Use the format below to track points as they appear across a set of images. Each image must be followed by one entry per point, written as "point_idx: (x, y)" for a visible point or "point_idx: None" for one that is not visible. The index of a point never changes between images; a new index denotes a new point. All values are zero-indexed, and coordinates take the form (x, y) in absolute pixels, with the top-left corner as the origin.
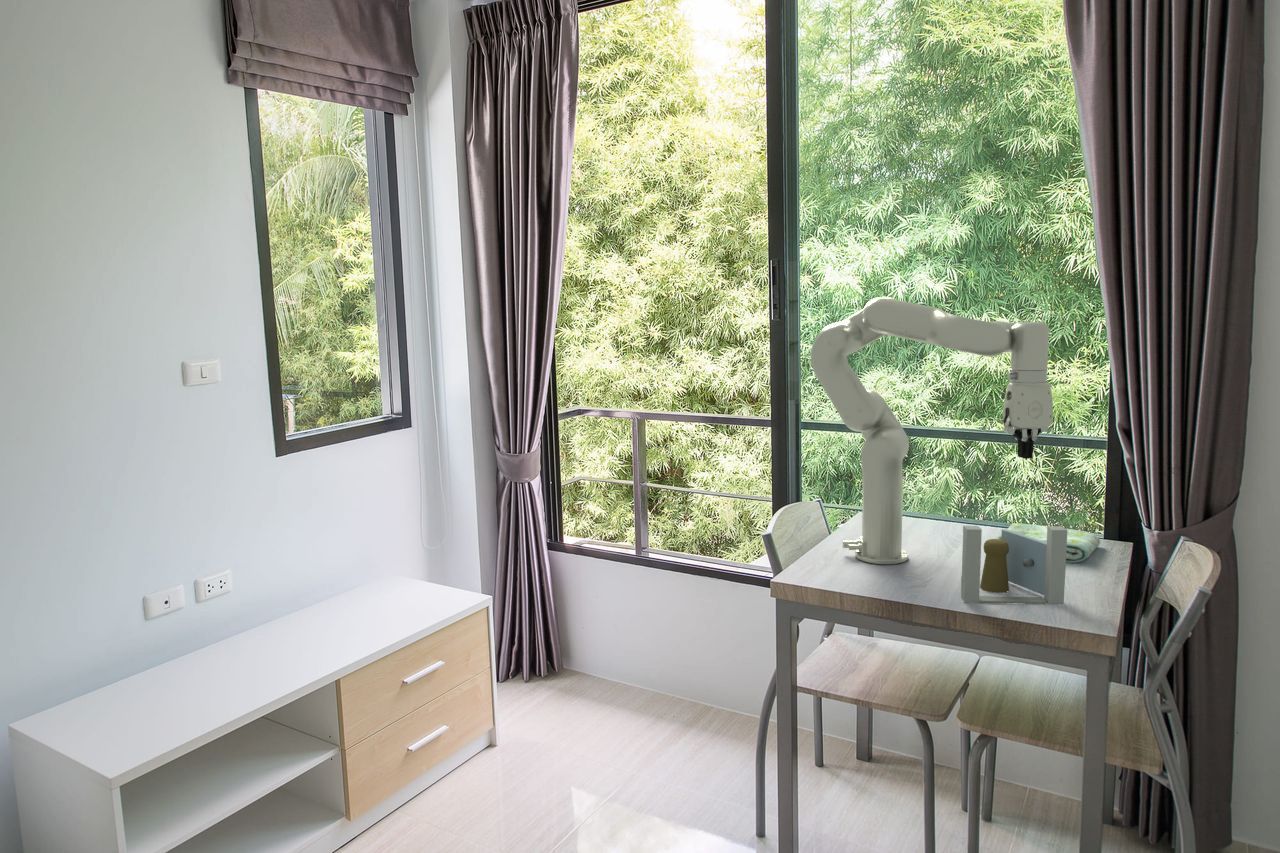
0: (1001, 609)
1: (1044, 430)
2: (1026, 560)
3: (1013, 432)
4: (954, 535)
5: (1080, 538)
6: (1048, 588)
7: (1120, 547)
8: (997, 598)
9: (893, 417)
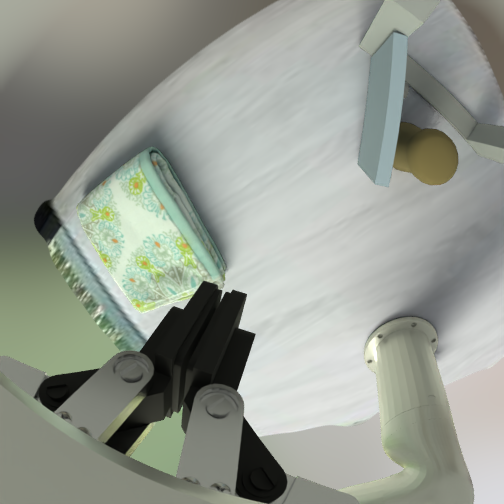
0: (469, 84)
1: (20, 368)
2: (408, 87)
3: (302, 491)
4: None
5: (113, 196)
6: None
7: (66, 186)
8: (450, 108)
9: None
